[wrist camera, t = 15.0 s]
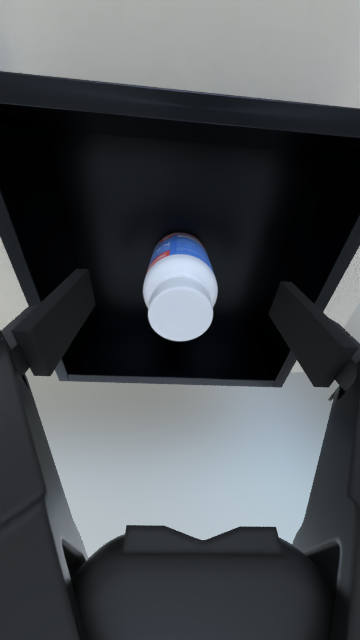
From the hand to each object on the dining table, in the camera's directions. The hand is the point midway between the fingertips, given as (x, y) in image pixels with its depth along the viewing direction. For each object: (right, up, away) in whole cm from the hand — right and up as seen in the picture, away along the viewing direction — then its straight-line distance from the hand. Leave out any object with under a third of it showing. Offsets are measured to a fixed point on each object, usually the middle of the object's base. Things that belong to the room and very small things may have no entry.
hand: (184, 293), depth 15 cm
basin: (0, +4, +7) cm, 8 cm away
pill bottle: (0, +4, +6) cm, 7 cm away
